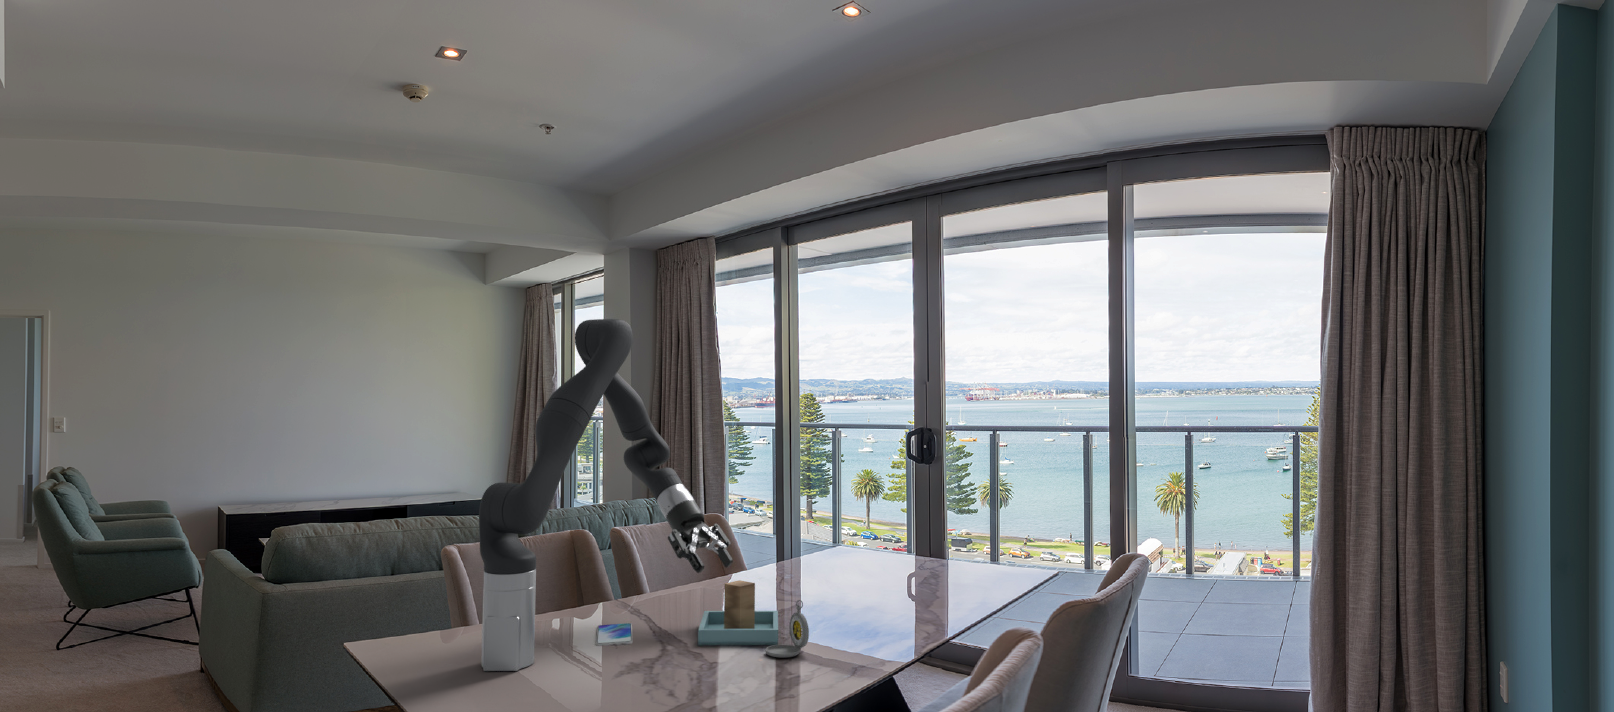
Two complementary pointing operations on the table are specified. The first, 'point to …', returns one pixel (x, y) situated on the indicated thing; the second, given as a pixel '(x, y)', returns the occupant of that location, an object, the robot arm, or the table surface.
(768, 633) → the tray
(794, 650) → the pocket watch
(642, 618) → the table surface
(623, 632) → the smartphone
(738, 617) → the walnut block
